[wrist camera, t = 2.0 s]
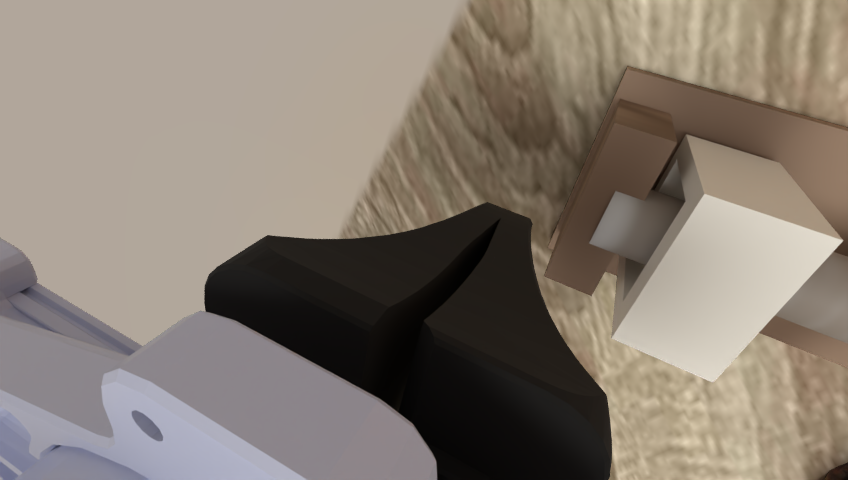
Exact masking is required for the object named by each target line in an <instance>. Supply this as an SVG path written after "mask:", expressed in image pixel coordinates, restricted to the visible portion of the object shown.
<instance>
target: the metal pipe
mask: <svg viewBox="0 0 848 480" xmlns="http://www.w3.org/2000/svg"><path fill="white" fill-rule="evenodd" d="M825 480H848V462H847V463H846V464H843V465H841V466H838V467H836V468H834V469H832V470H830V471H829V472H828V474H827V476H826V478H825Z"/></svg>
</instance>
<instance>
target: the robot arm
mask: <svg viewBox="0 0 848 480" xmlns="http://www.w3.org/2000/svg"><path fill="white" fill-rule="evenodd" d="M532 225H533V224H532V222H531V219H529V218H527V217H524V216H522V215H519V214H516V213H514V212H511V211H509V210H506V209H504V208H501V207H498V206H496V205H493V204H491V203H488V202H486V203H484V204H482V205H479V206H477V207H474V208H472V209H470V210H468V211H465V212H463V213H461V214H458V215H456V216H453V217H451V218H448V219H446V220H443V221H440V222H437V223H434V224H431V225H428V226H425V227H422V228H418V229H414V230H410V231H406V232H401V233H396V234H391V235H384V236H375V237H365V238H355V239H304V238H292V237H280V236H270V235H267V236H266V237H264V238H262V239H260V240H259V241H257V242H256V243H254V244H253V245H251V246H249V247H248V248H246V249H245V250H243V251H242V252H240V253H238V254H237V255H235V256H234V257H232V258H231V259H229V260H227V261H226V262H224V263H223V264H221V265H220V266H218V267H217V268H216V269H215V270H214V271H212V272H211V273H210V274H209V276H208V279H207V281H206V284H205V310H206V312H204V311H199V312H196V313H194V314H192V315H190V316H188V317H185V318H183V319H182V320H180V321H179V322H177V323H176V324H174V325H173V326H171V327H170V328H169V329H167V330H166V331H164V332H163V333H161V334H160V335H159V336H157V337H156V338H154V339H153V340H152V341H150V342H149V343H147V344H146V345H144V346H141V345H139V344H138V343H136V342H135V341H133V340H131V339H130V338H128V337H126V336H125V335H123V334H121V333H120V332H118V331H116V330H115V329H113V328H111V327H110V326H108V325H106V324H105V323H103V322H101V321H100V320H98V319H97V318H95V317H93V316H91V315H90V314H88V313H87V312H85V311H83V310H82V309H80V308H78V307H77V306H75V305H73V304H72V303H70V302H68V301H67V300H65V299H63V298H62V297H60V296H58V295H57V294H55V293H53V292H52V291H50V290H48V289H47V288H45V287H43V286H42V285H40V284H38V283H37V276H36V273H35V271H34V268H33V266H32V264H31V262H30V260H29V259H28V258H27V257H26V255H25V254H24V253H23V252H22V251H21V250H19V249H18V248H16V247H15V246H13V245H11V244H10V243H8V242H6V241H5V240H3V239H1V238H0V480H608V479H609V477H610V468H611V460H612V438H611V426H610V417H609V408H608V401H607V396H606V394H605V393H604V391H603V390H602V389H601V388H600V387H599V385H598V384H597V383H596V382H595V381H594V379H593V378H592V377H591V376H590V375H589V373H588V372H587V371H586V370H585V369H584V367H583V366H582V365H581V364H580V363H579V361H578V360H577V359H576V357H575V356H574V354H573V353H572V351H571V350H570V349H569V347H568V346H567V344H566V343H565V341H564V340H563V338H562V336H561V335H560V333H559V331H558V329H557V328H556V326H555V324H554V322H553V320H552V318H551V316H550V314H549V312H548V310H547V308H546V305H545V302H544V300H543V297H542V295H541V292H540V289H539V285H538V282H537V278H536V274H535V269H534V264H533V258H532V251H531V227H532Z"/></svg>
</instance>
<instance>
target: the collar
mask: <svg viewBox="0 0 848 480" xmlns="http://www.w3.org/2000/svg"><path fill="white" fill-rule="evenodd" d="M655 191H658V192H661V193H664V194H667V195H670V196H673V197H676V198H678V199H681V200H684V201H686V202H685V203H684V205H683V206H682V208H681V210H680V211H679V213H678V214H677V216H676V218H675V219H674V221H673V222H672V224H671V226H670V227H669V229H668V230H667V232H666V234H665V235H664V237H663V238H662V240H661V242H660V243H659V245H658V246H657V248H656V250H655V251H654V253H653V255H652V256H651V258H650V259H649V261H648V263H647V264H646V265H643V264H641V263H638V262H636V261H633V260H631V259H628V258H625V257H623V256H620V255H619V262H618V273H617V283H616V294H615V305H614V315H613V326H612V337H611V339H614V340H616V341H618V342H621V343H623V344H625V345H628V346H630V347H632V348H634V349H637V350H639V351H641V352H644V353H646V354H648V355H650V356H653V357H655V358H657V359H660V360H662V361H664V362H666V363H669V364H671V365H673V366H676V367H678V368H680V369H683V370H685V371H687V372H689V373H692V374H694V375H696V376H699V377H701V378H703V379H705V380H708V381H710V382H712V383H713V382H714V381H715V380H716V379H717V378H718V377H719V376H720V375H721V373H722V372H723V371H724V370H725V369H726V368H727V367H728V366H729V365H730V364H731V363H732V361H733V360H734V359H735V358H736V357H737V356H738V355H739V354H740V353H741V352H742V351H743V349H744V348H745V347H746V346H747V345H748V344H749V343H750V342H751V341H752V340H753V339H754V337H755V336H756V335H757V334H758V333H759V332H760V331H761V330H762V329H763V328H764V327H765V326H766V324H767V323H768V322H769V321H770V320H771V319H772V318H773V317H774V316H775V315H776V314H777V312H778V311H779V310H780V309H781V308H782V307H783V306H784V305H785V304H786V303H787V302H788V300H789V299H790V298H791V297H792V296H793V295H794V294H795V293H796V292H797V291H798V290H799V288H800V287H801V286H802V285H803V284H804V283H805V282H806V281H807V280H808V279H809V278H810V276H811V275H812V274H813V273H814V272H815V271H816V270H817V269H818V268H819V267H820V266H821V264H822V263H823V262H824V261H825V260H826V259H827V258H828V257H829V256H830V255H831V254H832V252H833V251H834V250H835V249H836V248H837V247H838V246H839V245H840V244H841V243H842V242H843V239H842V238H841V237H840V236H839V235H838V233H837V232H836V231H835V230H834V228H833V227H832V226H831V225H830V224H829V222H828V221H827V220H826V219H825V217H824V216H823V215H822V214H821V213H820V211H819V210H818V209H817V208H816V206H815V205H814V204H813V203H812V202H811V200H810V199H809V198H808V197H807V196H806V194H805V193H804V192H803V191H802V189H801V188H800V187H799V186H798V185H797V183H796V182H795V181H794V180H793V178H792V177H791V176H790V175H789V174H788V172H787V171H786V170H785V169H784V167H783V166H782V165H781V164H780V163H778V162H775V161H772V160H769V159H765V158H762V157H759V156H756V155H752V154H749V153H746V152H743V151H739V150H736V149H733V148H730V147H726V146H723V145H720V144H717V143H713V142H710V141H707V140H704V139H700V138H697V137H694V136H691V135H687V134H686V135H685V137H684V139H683V140H682V142H681V144H680V146H679V147H678V149H677V151H676V153H675V154H674V156H673V158H672V160H671V162H670V163H669V165H668V167H667V169H666V170H665V172H664V174H663V176H662V177H661V179H660V181H659V183H658V185H657V186H656V188H655Z"/></svg>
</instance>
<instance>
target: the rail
mask: <svg viewBox="0 0 848 480" xmlns="http://www.w3.org/2000/svg"><path fill="white" fill-rule="evenodd" d="M686 134H687V135H691V136H694V137H697V138H700V139H704V140H707V141H710V142H713V143H717V144H720V145H723V146H726V147H730V148H733V149H736V150H739V151H743V152H746V153H749V154H752V155H756V156H759V157H762V158H765V159H769V160H772V161H775V162H778V163H780V164H781V165H782V166H783V167H784V169H785V170H786V171H787V172H788V174H789V175H790V176H791V177H792V178H793V180H794V181H795V182H796V183H797V185H798V186H799V187H800V188H801V189H802V191H803V192H804V193H805V194H806V196H807V197H808V198H809V199H810V200H811V202H812V203H813V204H814V205H815V206H816V208H817V209H818V210H819V211H820V213H821V214H822V215H823V216H824V217H825V219H826V220H827V221H828V222H829V224H830V225H831V226H832V227H833V228H834V230H835V231H836V232H837V233H838V235H839V236H840V237H841V238H842V239H843V242H842V243H841V244H840V245H839V246H838V247H837V248H836V249H835V250H834V251H833V252H832V254H831V255H830V256H829V257H828V258H827V259H826V260H825V261H824V262H823V263H822V264H821V266H820V267H819V268H818V269H817V270H816V271H815V272H814V273H813V274H812V275H811V276H810V278H809V279H808V280H807V281H806V282H805V283H804V284H803V285H802V286H801V287H800V288H799V290H798V291H797V292H796V293H795V294H794V295H793V296H792V297H791V298H790V299H789V300H788V302H787V303H786V304H785V305H784V306H783V307H782V308H781V309H780V310H779V311H778V312H777V314H776V315H775V316H774V317H773V318H772V319H771V320H770V321H769V322H768V323H767V324H766V326H765V327H764V328H763V329H762V330H761V331H760V332H759V333H761V334H764V335H766V336H769V337H771V338H774V339H776V340H779V341H781V342H784V343H786V344H789V345H791V346H794V347H796V348H799V349H801V350H804V351H806V352H809V353H811V354H814V355H816V356H819V357H821V358H824V359H826V360H829V361H831V362H834V363H836V364H839V365H841V366H844V367H846V368H848V128H847V127H843V126H840V125H836V124H833V123H829V122H826V121H822V120H818V119H815V118H811V117H808V116H804V115H801V114H797V113H793V112H790V111H786V110H783V109H779V108H776V107H772V106H768V105H765V104H761V103H758V102H754V101H751V100H747V99H743V98H740V97H736V96H733V95H729V94H726V93H722V92H718V91H715V90H711V89H708V88H704V87H701V86H697V85H693V84H690V83H686V82H683V81H679V80H676V79H672V78H668V77H665V76H661V75H658V74H654V73H651V72H647V71H643V70H640V69H636V68H633V67H629V66H627V69H626V71H625V73H624V75H623V78H622V80H621V82H620V85H619V87H618V89H617V91H616V94H615V96H614V98H613V100H612V103H611V105H610V107H609V109H608V112H607V114H606V116H605V118H604V121H603V123H602V125H601V127H600V130H599V132H598V134H597V136H596V139H595V141H594V143H593V145H592V148H591V150H590V152H589V154H588V157H587V159H586V161H585V163H584V166H583V168H582V170H581V172H580V175H579V177H578V179H577V181H576V184H575V186H574V188H573V191H572V193H571V195H570V197H569V200H568V202H567V204H566V206H565V209H564V211H563V213H562V215H561V218H560V220H559V222H558V224H557V227H556V229H555V231H554V233H553V236H552V238H551V240H550V243H549V245H548V248H549V249H551V250H553V252H552V255H551V258H550V261H549V264H548V266H547V269H546V272H545V275H544V276H545V277H547V278H550V279H552V280H555V281H557V282H559V283H562V284H564V285H567V286H569V287H571V288H574V289H576V290H578V291H581V292H583V293H586V294H588V295H590V296H592V294H593V292H594V290H595V288H596V287H597V285H598V283H599V281H600V279H601V278H602V276H603V274H604V272H605V271H606V272H609V273H611V274H614V275H616V276H617V273H618V262H619V255H620V256H623V257H625V258H628V259H631V260H633V261H636V262H638V263H641V264H643V265H646V264H647V263H648V261H649V259H650V258H651V256H652V255H653V253H654V251H655V250H656V248H657V246H658V245H659V243H660V242H661V240H662V238H663V237H664V235H665V234H666V232H667V230H668V229H669V227H670V226H671V224H672V222H673V221H674V219H675V218H676V216H677V214H678V213H679V211H680V210H681V208H682V206H683V205H684V203H685V202H686V201H684V200H681V199H678V198H676V197H673V196H670V195H667V194H664V193H661V192H658V191H655V188H656V186H657V185H658V183H659V181H660V179H661V177H662V176H663V174H664V172H665V170H666V169H667V167H668V165H669V163H670V162H671V160H672V158H673V156H674V154H675V153H676V151H677V149H678V147H679V146H680V144H681V142H682V140H683V139H684V137H685V135H686Z"/></svg>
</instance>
